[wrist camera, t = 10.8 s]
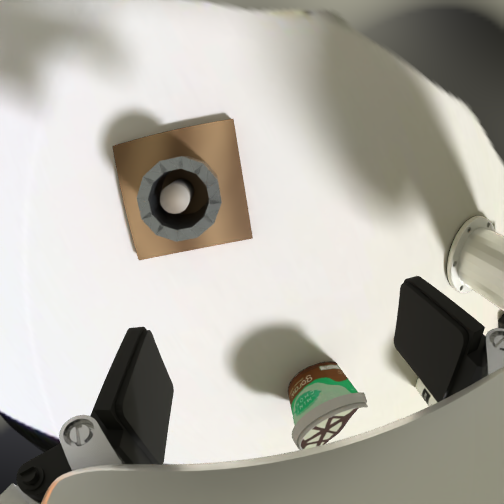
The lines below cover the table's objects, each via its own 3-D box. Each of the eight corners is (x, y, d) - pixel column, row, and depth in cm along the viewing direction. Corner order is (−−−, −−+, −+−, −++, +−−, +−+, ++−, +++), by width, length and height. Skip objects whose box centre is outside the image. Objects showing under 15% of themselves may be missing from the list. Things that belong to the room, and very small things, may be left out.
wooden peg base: (232, 119, 26) (237, 110, 20) (251, 235, 30) (260, 255, 24) (115, 146, 25) (92, 145, 20) (140, 257, 29) (126, 280, 24)
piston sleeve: (212, 151, 26) (212, 150, 20) (224, 215, 28) (227, 231, 22) (147, 165, 25) (130, 168, 20) (161, 228, 28) (148, 247, 22)
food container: (305, 346, 36) (330, 400, 27) (341, 354, 37) (370, 403, 28) (265, 405, 39) (278, 458, 30) (300, 410, 41) (317, 459, 31)
